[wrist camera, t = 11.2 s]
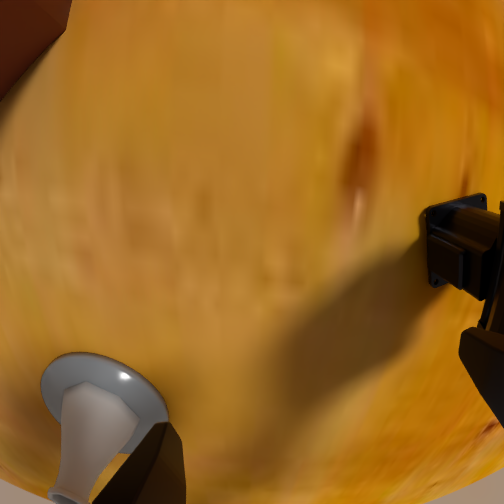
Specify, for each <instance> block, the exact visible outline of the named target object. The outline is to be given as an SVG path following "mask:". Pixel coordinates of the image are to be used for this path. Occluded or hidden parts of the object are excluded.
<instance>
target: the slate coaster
mask: <svg viewBox="0 0 504 504" xmlns="http://www.w3.org/2000/svg"><path fill="white" fill-rule="evenodd" d="M86 381H87V382H89V383H91V384H93V385H95V386H97V387H99V388H101V389H104V390H106V391H108V392H110V393H113V394H115V395H117V396H119V397H120V398H121V399H122V400H123V401H124V402H125V403H126V405H127V406H128V407H129V408H130V409H131V410H132V411H133V412H134V413H135V414H136V415H137V416H138V417H139V418H140V421H139V423H138V425H137V427H136V429H135V432H134V434H133V436H132V437H131V438H130V440H129V441H128V442H127V443H126V444H125V446H124V447H123V448H122V449H121V450H120V451H119V452H118V453H125V454H131V453H132V452H133V451H134V449H135V448H136V447H137V446H138V444H139V443H140V442H141V440H142V439H143V438H144V437H145V435H146V434H147V433H148V431H149V430H150V429H151V428H152V426H153V425H154V424H155V423H157V422H165V421H167V422H169V412H168V408H167V405H166V403H165V401H164V399H163V397H162V396H161V394H160V393H159V392H158V390H157V389H156V388H155V387H154V386H153V385H152V384H151V383H150V382H149V381H148V380H147V379H146V378H144V377H143V376H142V375H141V374H139V373H138V372H136V371H135V370H133V369H132V368H130V367H128V366H127V365H125V364H123V363H121V362H119V361H116V360H114V359H112V358H109V357H106V356H103V355H99V354H95V353H88V352H71V353H66V354H63V355H61V356H59V357H57V358H56V359H54V360H53V361H52V362H51V363H50V364H49V366H48V367H47V369H46V370H45V372H44V374H43V376H42V379H41V393H42V396H43V399H44V402H45V404H46V406H47V408H48V410H49V411H50V412H51V414H52V415H53V417H54V418H55V419H56V420H57V421H58V422H59V423H60V424H61V411H62V402H63V395H64V389H67V388H69V387H72V386H75V385H78V384H80V383H83V382H86Z"/></svg>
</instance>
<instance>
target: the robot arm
mask: <svg viewBox="0 0 504 504" xmlns="http://www.w3.org/2000/svg"><path fill="white" fill-rule="evenodd" d="M481 198H482V200H481ZM499 209H500V210H501V211H500V215H499V214H496V213H493V212H490V211H487V198H486V195H485V194H483V193H477V194H473V195H469V196H465V197H462V198H458V199H454V200H450V201H447V202H443V203H439V204H435V205H432V206H429V207H428V208H427V210H426V223H427V253H428V269H429V284H430V286H432V287H433V288H437V287H439V286H442V285H444V284H446V283H450V284H452V285H453V286H454V287H456V288H457V289H459V290H462V289H463V290H465V291H466V292H467V293H469V294H470V295H472V296H473V297H475V298H476V299H477V300H479V301H482V300H484V299H485V303H484V307H483V311H482V315H481V318H480V320H479V321H478V325H477V328H476V327H470V328H468V329H466V330H464V331H463V332H462V334H461V338H460V345H459V357H460V360H461V361H462V363H463V365H464V366H465V368H466V370H467V372H468V373H469V375H470V377H471V379H472V380H473V382H474V384H475V386H476V388H477V389H478V391H479V393H480V394H481V396H482V397H483V399H484V400H485V402H486V403H487V404H488V406H489V407H490V409H491V410H492V412H493V413H494V415H495V416H496V418H497V419H498V421H499V422H500V424H501V425H502V427H503V428H504V201H500V208H499ZM432 211H434V213H433V215H431V213H432ZM435 280H436V281H435ZM434 281H435V282H434ZM92 504H186V480H185V470H184V459H183V448H182V441H181V439H180V437H179V435H178V434H177V432H176V431H175V429H174V428H173V426H172V424H171V423H170V422H167V421H165V422H157V423H155V424H154V425H153V426H152V428H151V429H150V430H149V431H148V433H147V434H146V435H145V437H144V438H143V439H142V440H141V442H140V443H139V444H138V446H137V447H136V448H135V449H134V451H133V452H132V453H131V454H130V456H129V457H128V458H127V460H126V461H125V462H124V463H123V465H122V466H121V467H120V468H119V470H118V471H117V472H116V473H115V475H114V476H113V477H112V478H111V480H110V481H109V482H108V483H107V485H106V486H105V487H104V488H103V490H102V491H101V492H100V493H99V495H98V496H97V497H96V498H95V499H94V501H93V502H92Z"/></svg>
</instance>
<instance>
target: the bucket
mask: <svg viewBox="0 0 504 504" xmlns="http://www.w3.org/2000/svg"><path fill="white" fill-rule="evenodd" d="M71 3H72V0H0V101H1V100H2V99H3V98H4V96H5V95H6V94H7V92H8V91H9V90H10V89H11V87H12V86H13V85H14V84H15V83H16V81H17V80H18V79H19V78H20V77H21V76H22V74H23V73H24V72H25V71H26V70H27V69H28V68H29V66H30V65H31V64H32V63H33V62H34V61H35V60H36V59H37V58H38V57H39V56H40V55H41V54H42V53H43V52H44V50H45V49H46V48H47V47H48V46H49V45H50V44H51V43H52V42H54V41H55V40H56V39H57V38H58V37H59V36H60V35H61V34H62V33H63V32H64V31H65V30H66V26H67V21H68V17H69V12H70V7H71Z"/></svg>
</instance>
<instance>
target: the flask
mask: <svg viewBox="0 0 504 504" xmlns="http://www.w3.org/2000/svg"><path fill="white" fill-rule="evenodd" d="M139 421H140V418H139V417H138V416H137V415H136V414H135V413H134V412H133V411H132V410H131V409H130V408H129V407H128V406H127V405H126V403H125V402H124V401H123V400H122V399H121V398H120V397H119V396H117V395H115V394H113V393H110V392H108V391H106V390H104V389H101V388H99V387H97V386H95V385H93V384H91V383H89V382H87V381H86V382H83V383H80V384H78V385H75V386H72V387H69V388H67V389H64V395H63V402H62V411H61V462H60V468H59V474H58V477H57V480H56V483H55V485H54V487H51V488H50V489H49V490H48V498H49V499H50V500H52V501H53V502H55V503H56V504H90V503H89V502H88V499H89V495H90V492H91V490H92V488H93V486H94V484H95V482H96V480H97V478H98V477H99V475H100V474H101V473H102V471H103V470H104V469H105V468H106V466H107V465H108V464H109V463H110V462H111V460H112V459H113V458H114V457H115V456H116V454H117V453H118V452H119V451H120V450H121V449H122V448H123V447H124V446H125V444H126V443H127V442H128V441H129V440H130V438H131V437H132V436H133V434H134V432H135V429H136V427H137V425H138V423H139Z"/></svg>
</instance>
